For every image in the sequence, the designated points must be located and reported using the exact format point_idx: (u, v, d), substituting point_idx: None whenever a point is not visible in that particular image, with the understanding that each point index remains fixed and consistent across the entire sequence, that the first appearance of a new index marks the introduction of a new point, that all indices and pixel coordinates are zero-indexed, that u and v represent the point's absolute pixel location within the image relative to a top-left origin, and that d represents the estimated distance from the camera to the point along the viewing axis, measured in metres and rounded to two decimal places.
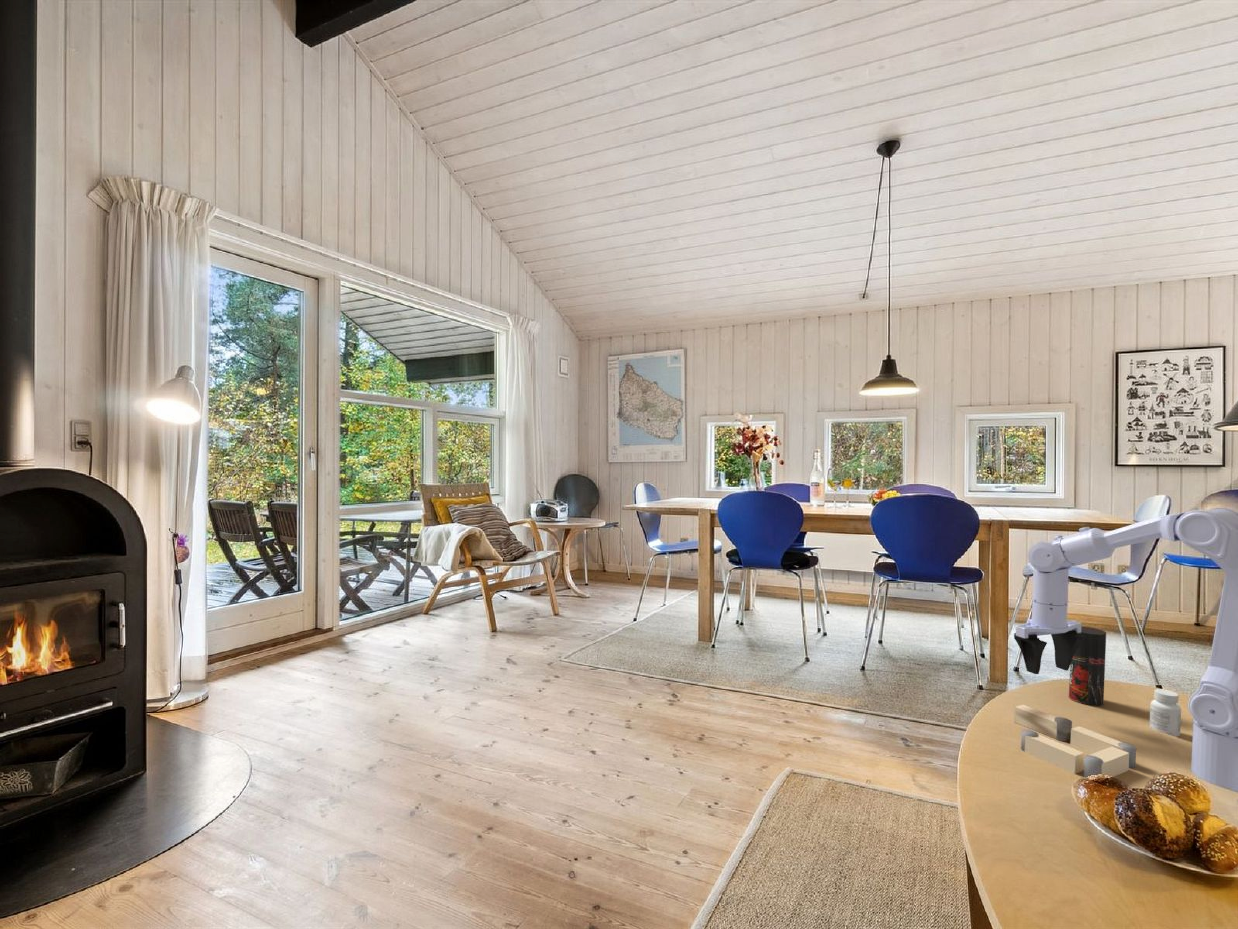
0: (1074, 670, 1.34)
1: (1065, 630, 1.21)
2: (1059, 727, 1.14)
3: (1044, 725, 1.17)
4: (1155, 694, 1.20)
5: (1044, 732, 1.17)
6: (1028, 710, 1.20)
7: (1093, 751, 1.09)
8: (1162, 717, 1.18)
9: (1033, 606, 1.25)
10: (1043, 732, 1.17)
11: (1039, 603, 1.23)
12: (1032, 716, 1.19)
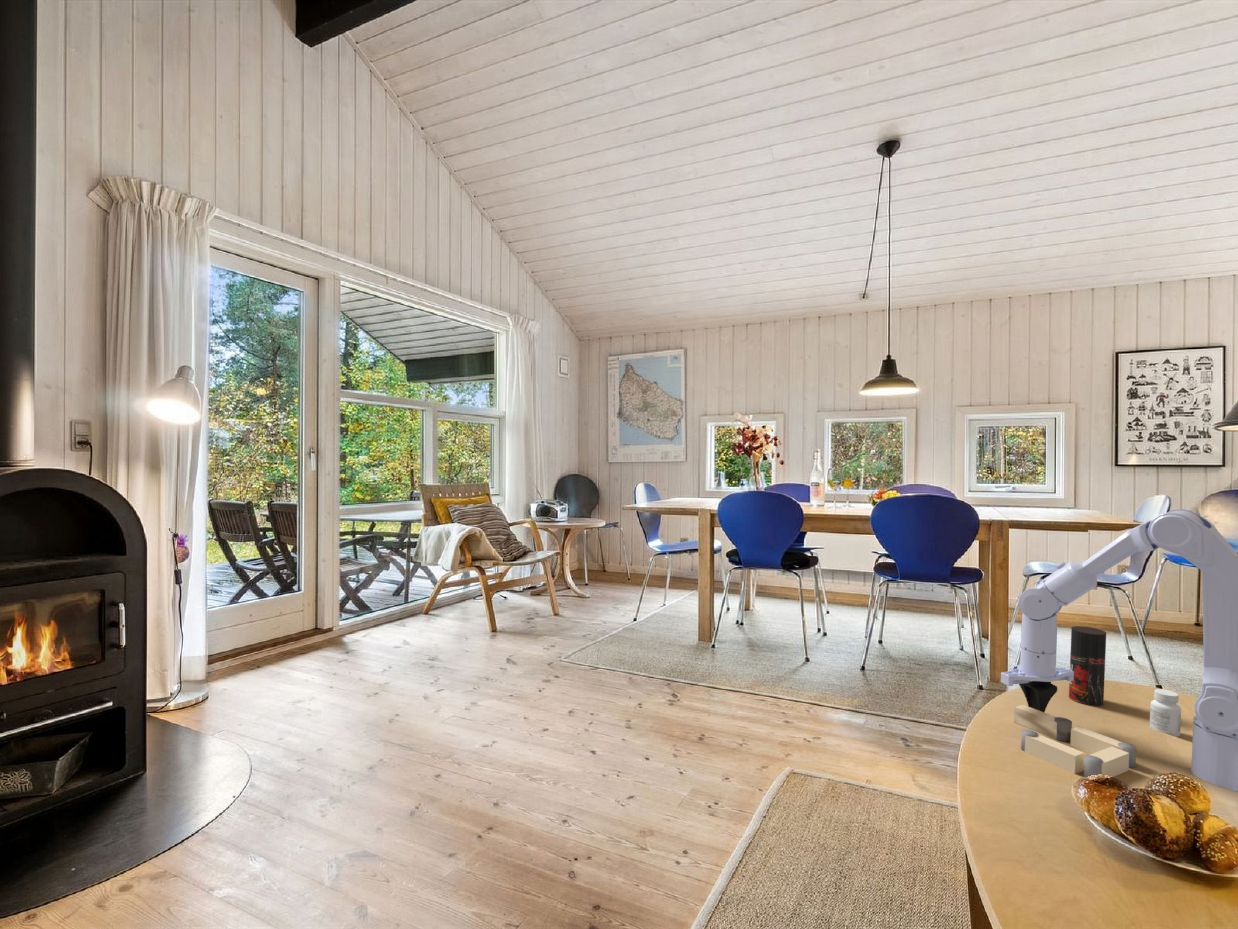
0: (1074, 670, 1.34)
1: (1053, 679, 1.18)
2: (1059, 727, 1.14)
3: (1044, 726, 1.17)
4: (1155, 694, 1.20)
5: (1044, 732, 1.17)
6: (1027, 710, 1.20)
7: (1093, 751, 1.09)
8: (1162, 717, 1.18)
9: (1021, 652, 1.22)
10: (1043, 732, 1.17)
11: (1026, 650, 1.20)
12: (1032, 716, 1.19)
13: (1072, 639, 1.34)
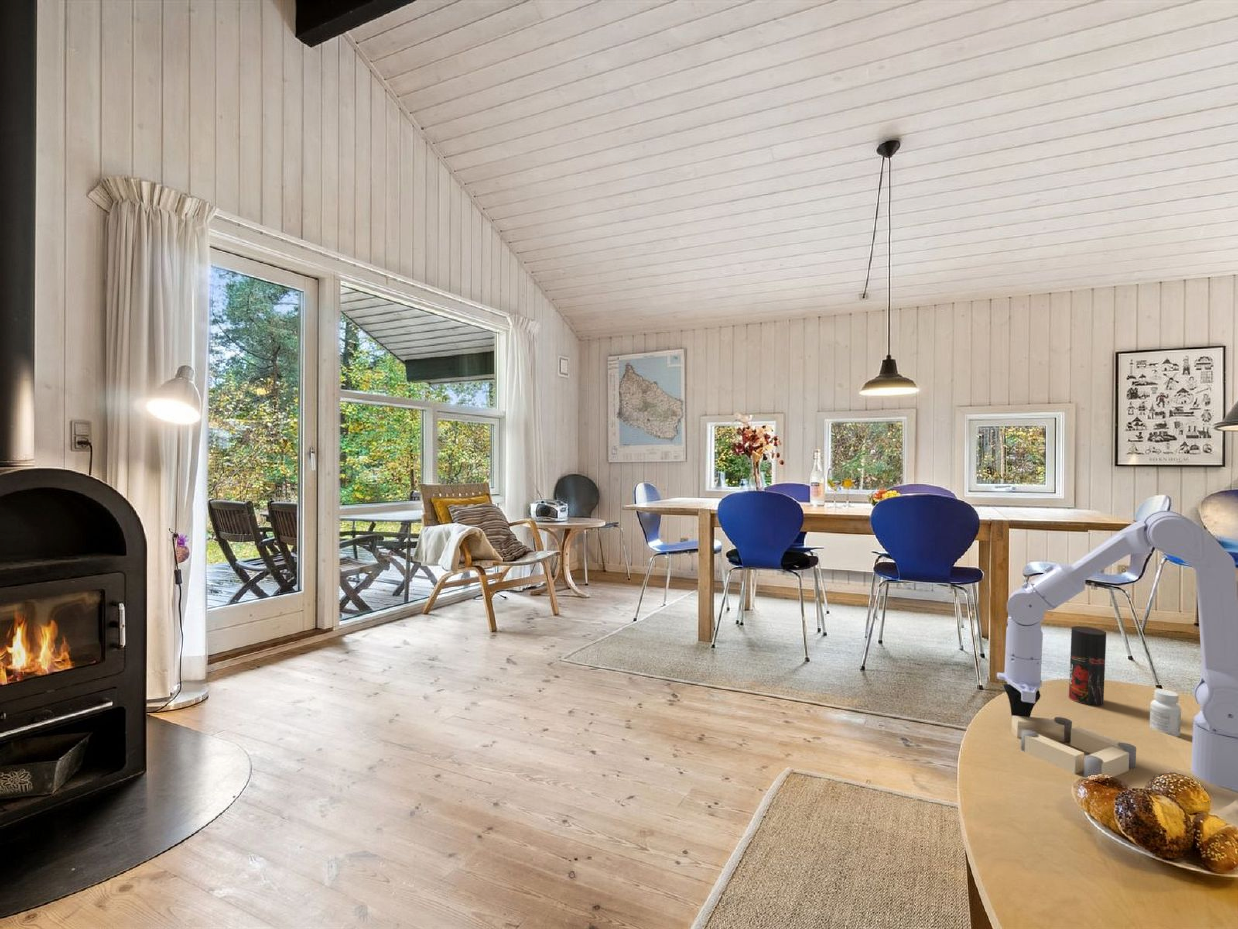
0: (1074, 670, 1.34)
1: None
2: (1067, 729, 1.14)
3: (1050, 732, 1.14)
4: (1155, 694, 1.20)
5: (1051, 738, 1.14)
6: (1029, 721, 1.15)
7: (1093, 751, 1.09)
8: (1162, 717, 1.18)
9: (1016, 662, 1.16)
10: (1049, 738, 1.14)
11: (1027, 659, 1.15)
12: (1037, 725, 1.15)
13: (1072, 639, 1.34)
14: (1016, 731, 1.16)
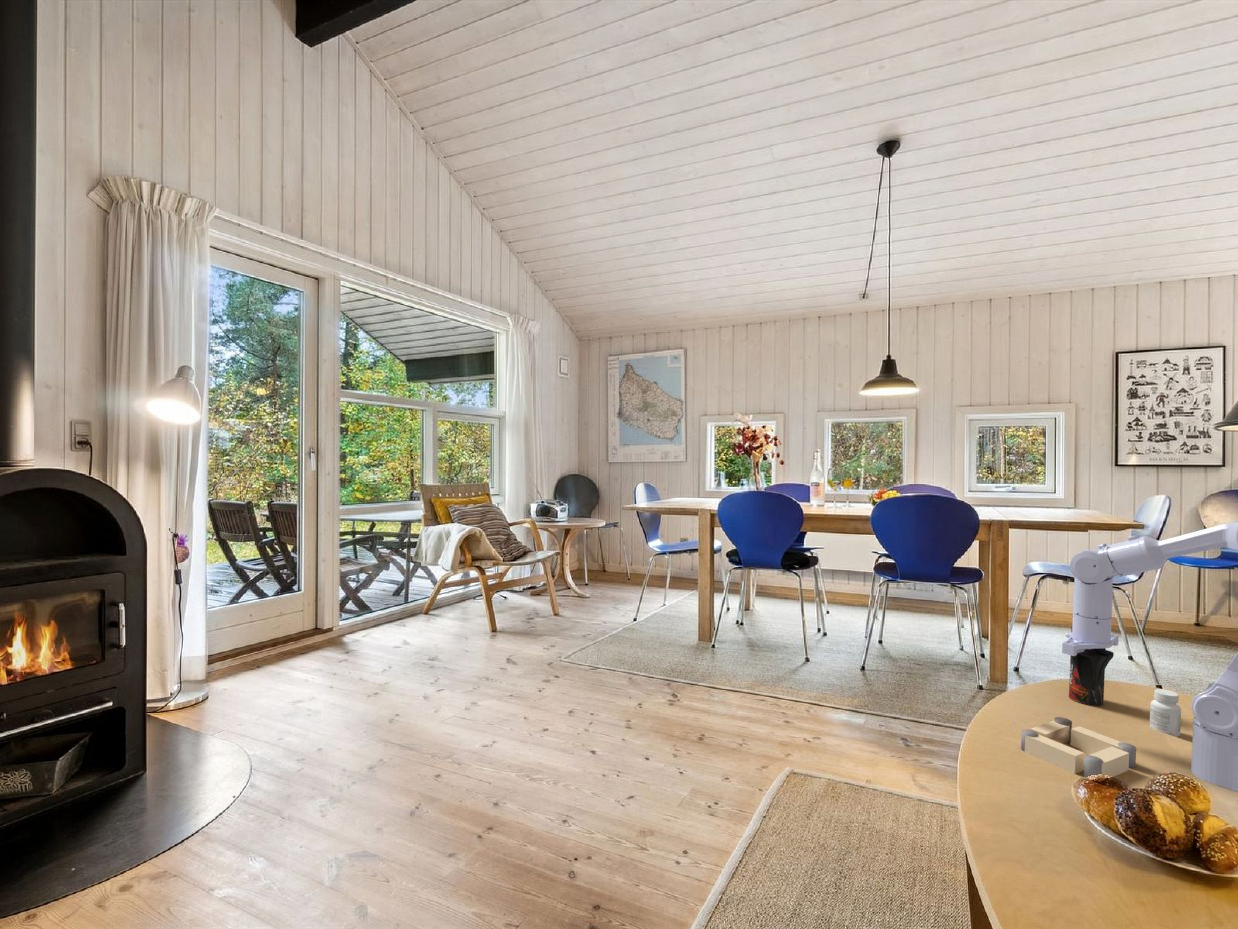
0: (1074, 670, 1.34)
1: (1111, 645, 1.14)
2: (1070, 728, 1.14)
3: (1062, 736, 1.13)
4: (1155, 694, 1.20)
5: (1062, 742, 1.13)
6: (1049, 730, 1.12)
7: (1093, 751, 1.09)
8: (1162, 717, 1.18)
9: (1075, 620, 1.16)
10: (1062, 743, 1.13)
11: (1084, 617, 1.15)
12: (1056, 733, 1.12)
13: None
14: None
